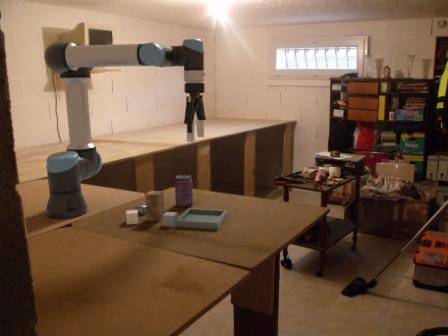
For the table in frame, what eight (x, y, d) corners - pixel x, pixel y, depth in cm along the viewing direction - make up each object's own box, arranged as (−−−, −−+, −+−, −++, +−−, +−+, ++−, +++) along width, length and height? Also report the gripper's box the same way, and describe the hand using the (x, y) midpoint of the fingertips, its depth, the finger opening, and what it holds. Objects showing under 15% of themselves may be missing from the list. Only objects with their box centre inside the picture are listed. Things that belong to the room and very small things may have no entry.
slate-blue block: (163, 226, 152) (162, 215, 152) (167, 222, 156) (166, 211, 155) (174, 226, 152) (173, 215, 151) (177, 223, 155) (177, 212, 155)
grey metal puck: (133, 214, 166) (132, 207, 165) (138, 211, 171) (138, 203, 170) (145, 215, 165) (145, 207, 164) (150, 211, 170) (150, 204, 169)
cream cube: (126, 224, 155) (126, 213, 154) (126, 221, 159) (126, 210, 158) (138, 223, 156) (137, 212, 155) (138, 220, 159) (137, 209, 159)
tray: (176, 227, 151) (176, 220, 150) (189, 214, 165) (188, 208, 165) (218, 229, 148) (218, 223, 147) (227, 216, 162) (227, 210, 161)
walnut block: (146, 220, 158) (145, 194, 156) (151, 216, 163) (150, 190, 161) (159, 221, 157) (158, 194, 155) (164, 217, 162) (163, 191, 160)
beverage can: (184, 201, 182) (183, 173, 180) (196, 204, 178) (195, 176, 175) (172, 205, 177) (170, 176, 174) (184, 208, 172) (183, 179, 170)
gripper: (194, 82, 149) (196, 144, 153) (212, 82, 173) (213, 135, 177) (173, 83, 150) (176, 143, 155) (194, 82, 174) (195, 134, 178)
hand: (195, 139), depth 166 cm, fingers open, 13 cm apart
